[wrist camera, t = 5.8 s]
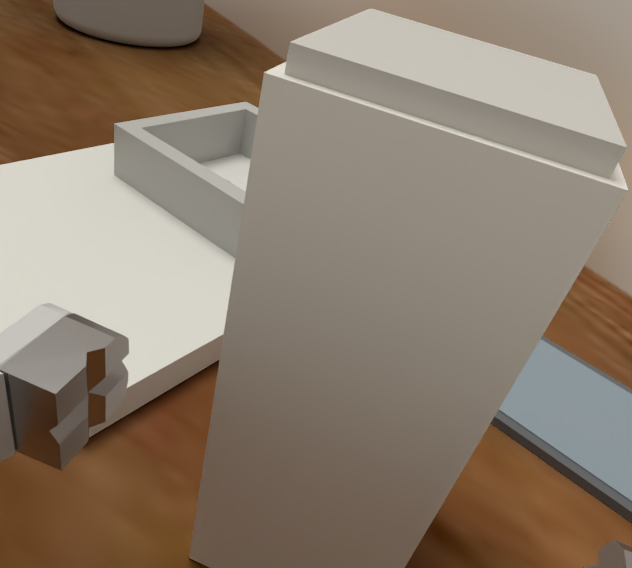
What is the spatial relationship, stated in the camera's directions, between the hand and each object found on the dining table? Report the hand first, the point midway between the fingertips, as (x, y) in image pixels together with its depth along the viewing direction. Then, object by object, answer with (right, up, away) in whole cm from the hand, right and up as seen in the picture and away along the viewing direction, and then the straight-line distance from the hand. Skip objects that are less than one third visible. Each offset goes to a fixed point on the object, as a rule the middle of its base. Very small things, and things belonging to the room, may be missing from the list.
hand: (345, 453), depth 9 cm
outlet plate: (-6, +5, +17) cm, 19 cm away
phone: (+7, -1, +14) cm, 16 cm away
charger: (-1, -4, +6) cm, 7 cm away
